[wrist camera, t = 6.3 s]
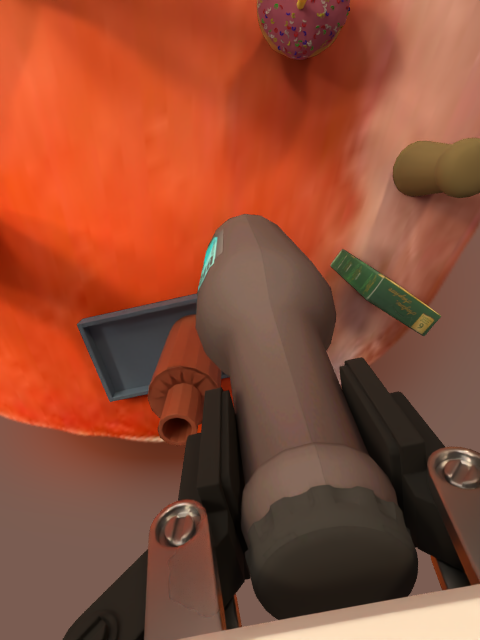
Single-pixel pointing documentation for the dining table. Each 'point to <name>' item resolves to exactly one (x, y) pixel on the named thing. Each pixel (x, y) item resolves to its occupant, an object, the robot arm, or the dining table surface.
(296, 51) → the cupcake
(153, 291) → the dining table surface
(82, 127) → the dining table surface
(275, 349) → the beer bottle
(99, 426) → the dining table surface
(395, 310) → the coffee box
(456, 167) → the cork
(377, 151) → the dining table surface
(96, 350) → the tray
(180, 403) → the terracotta bottle
